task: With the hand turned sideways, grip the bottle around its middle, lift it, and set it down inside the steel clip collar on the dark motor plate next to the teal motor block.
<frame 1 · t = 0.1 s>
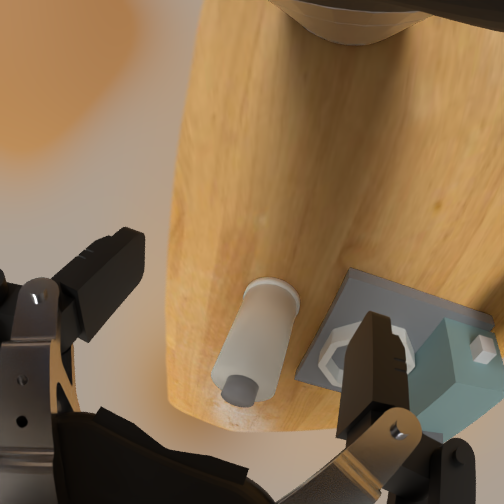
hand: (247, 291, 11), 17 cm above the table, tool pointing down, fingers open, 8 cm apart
bottle: (272, 299, 34), on the table
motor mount: (367, 342, 34), on the table
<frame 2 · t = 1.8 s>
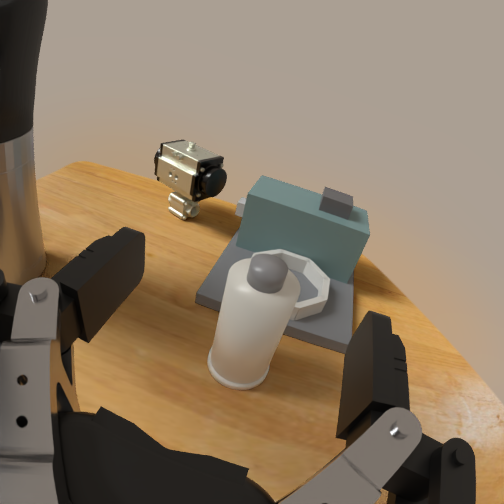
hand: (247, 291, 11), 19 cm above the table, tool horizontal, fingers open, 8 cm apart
pneumatic valve: (180, 215, 51), on the table
bottle: (237, 364, 31), on the table
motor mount: (281, 296, 40), on the table
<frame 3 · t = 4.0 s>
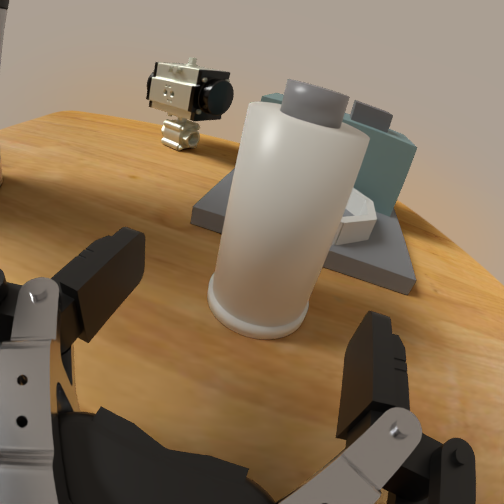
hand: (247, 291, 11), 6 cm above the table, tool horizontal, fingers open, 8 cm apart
pneumatic valve: (175, 147, 40), on the table
bottle: (256, 301, 20), on the table
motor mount: (309, 225, 29), on the table
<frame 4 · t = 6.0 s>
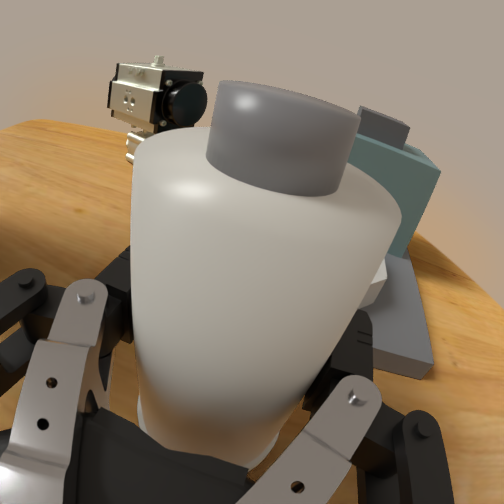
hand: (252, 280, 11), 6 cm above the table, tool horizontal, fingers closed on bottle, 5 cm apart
pneumatic valve: (142, 165, 34), on the table
bottle: (208, 418, 13), on the table, touching gripper
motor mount: (297, 278, 22), on the table
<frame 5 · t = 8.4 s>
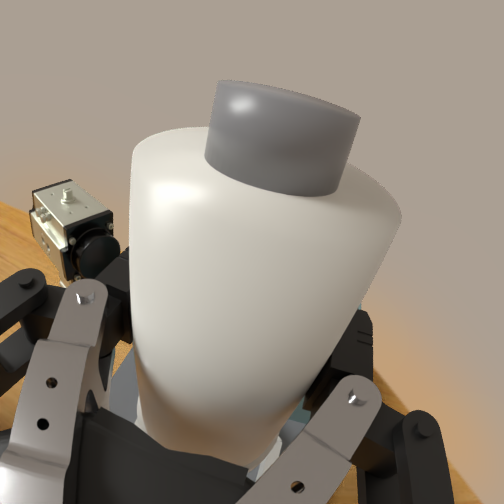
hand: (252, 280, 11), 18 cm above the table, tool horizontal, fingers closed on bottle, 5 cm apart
pneumatic valve: (76, 292, 32), on the table
bottle: (207, 418, 13), point 12 cm above the table, touching gripper
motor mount: (201, 459, 21), on the table
when the fingers open (9 cm above the table, at t = 10.8 s): bottle drops 1 cm, resting on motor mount.
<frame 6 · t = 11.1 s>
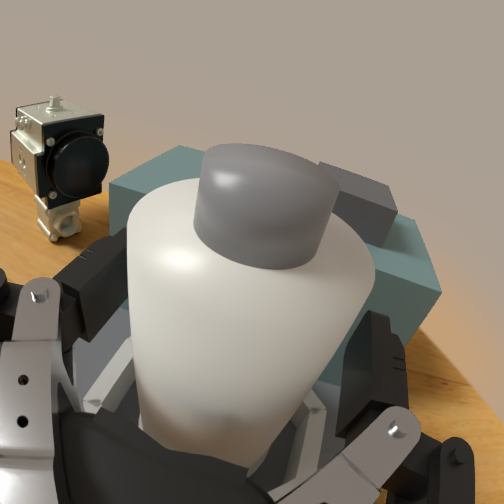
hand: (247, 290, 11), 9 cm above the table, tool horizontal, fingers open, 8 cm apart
pneumatic valve: (55, 232, 25), on the table
bottle: (204, 433, 13), point 2 cm above the table, touching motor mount
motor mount: (201, 441, 14), on the table
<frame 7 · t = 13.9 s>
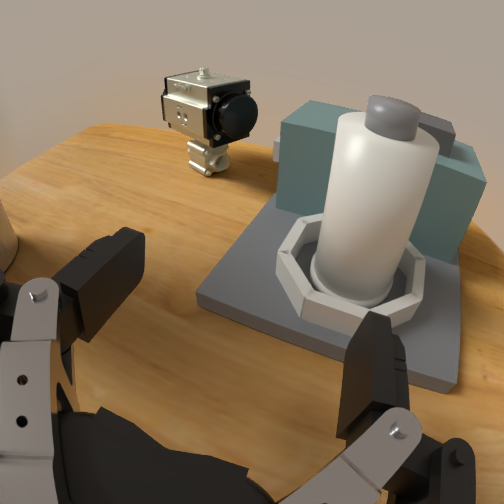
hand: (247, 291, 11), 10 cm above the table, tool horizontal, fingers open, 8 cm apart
pneumatic valve: (205, 170, 37), on the table
bottle: (350, 277, 22), point 2 cm above the table, touching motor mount
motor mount: (346, 289, 24), on the table
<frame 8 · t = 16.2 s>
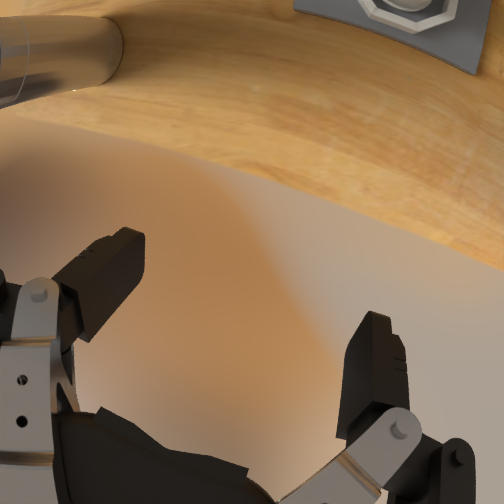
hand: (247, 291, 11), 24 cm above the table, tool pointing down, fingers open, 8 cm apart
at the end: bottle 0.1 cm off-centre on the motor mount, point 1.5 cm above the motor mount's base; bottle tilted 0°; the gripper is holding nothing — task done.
